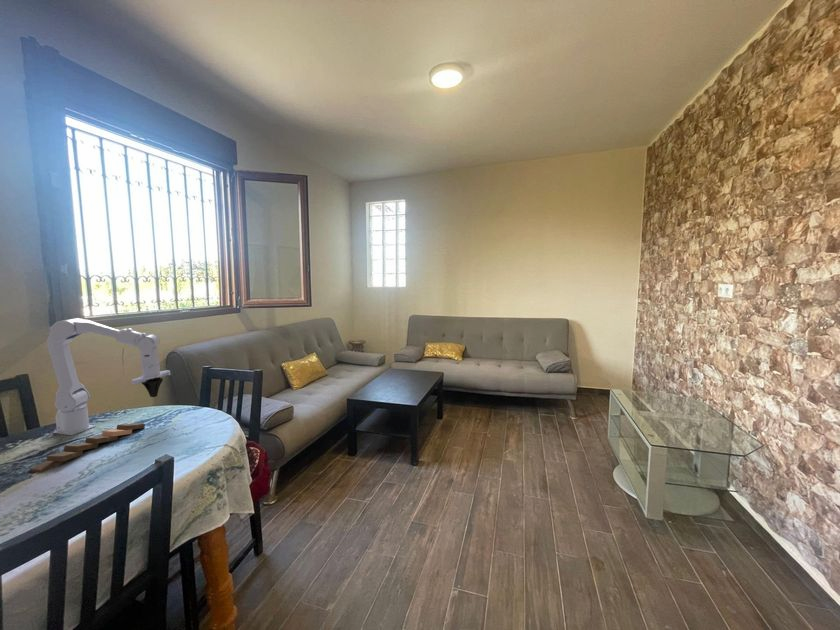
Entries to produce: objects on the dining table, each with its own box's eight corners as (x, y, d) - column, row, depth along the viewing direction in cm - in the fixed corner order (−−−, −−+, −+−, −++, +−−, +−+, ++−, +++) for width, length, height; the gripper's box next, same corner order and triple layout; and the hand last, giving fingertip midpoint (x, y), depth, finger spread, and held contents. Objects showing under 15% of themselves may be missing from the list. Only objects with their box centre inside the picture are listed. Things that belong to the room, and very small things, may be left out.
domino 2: (82, 455, 113) (61, 461, 106) (67, 455, 112) (46, 461, 105) (82, 450, 113) (62, 456, 106) (68, 450, 113) (47, 455, 106)
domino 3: (97, 447, 118) (76, 451, 111) (85, 446, 118) (63, 450, 111) (98, 442, 118) (77, 446, 112) (86, 441, 119) (64, 445, 112)
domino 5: (144, 427, 133) (126, 430, 127) (134, 427, 134) (116, 429, 127) (145, 423, 134) (127, 425, 127) (135, 422, 134) (117, 424, 128)
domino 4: (116, 440, 123) (95, 443, 117) (106, 439, 124) (85, 442, 118) (117, 435, 124) (96, 438, 117) (107, 434, 125) (86, 437, 118)
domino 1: (69, 462, 110) (41, 474, 103) (57, 461, 111) (30, 473, 104) (68, 457, 110) (41, 469, 103) (57, 456, 110) (29, 468, 104)
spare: (131, 433, 128) (112, 436, 122) (121, 432, 129) (101, 435, 122) (132, 429, 129) (113, 431, 122) (122, 428, 129) (102, 430, 123)
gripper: (139, 369, 130) (143, 403, 131) (175, 360, 144) (177, 391, 145) (125, 368, 131) (129, 402, 133) (162, 359, 145) (164, 390, 147)
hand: (153, 396), depth 139 cm, fingers closed
